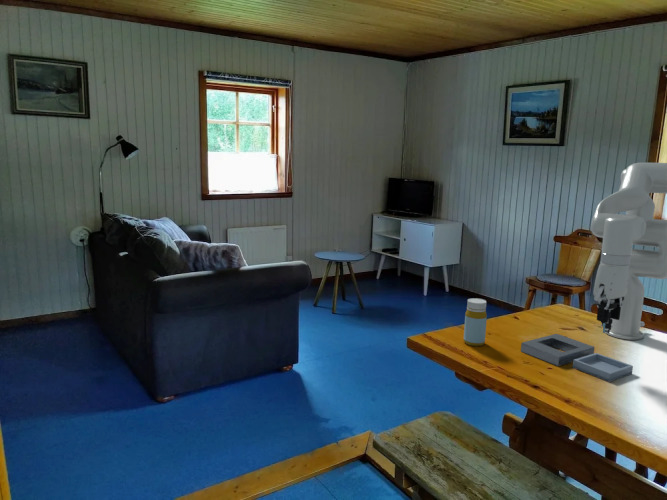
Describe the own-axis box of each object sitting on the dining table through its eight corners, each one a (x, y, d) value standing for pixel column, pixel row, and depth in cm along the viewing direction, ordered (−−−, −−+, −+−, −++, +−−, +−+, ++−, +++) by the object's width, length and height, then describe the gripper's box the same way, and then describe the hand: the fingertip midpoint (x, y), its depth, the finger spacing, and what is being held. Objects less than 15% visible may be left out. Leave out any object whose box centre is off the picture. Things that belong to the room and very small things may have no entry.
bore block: (555, 341, 180) (556, 333, 180) (593, 355, 168) (594, 346, 168) (520, 351, 171) (521, 342, 170) (558, 366, 159) (559, 357, 159)
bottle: (477, 348, 173) (480, 304, 170) (459, 342, 178) (462, 300, 175) (488, 343, 178) (491, 301, 175) (471, 337, 183) (474, 296, 180)
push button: (616, 336, 150) (617, 302, 148) (595, 334, 153) (596, 301, 151) (616, 329, 156) (617, 296, 154) (596, 327, 158) (597, 295, 157)
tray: (595, 360, 164) (596, 352, 164) (632, 373, 155) (633, 365, 154) (572, 367, 159) (573, 359, 158) (609, 381, 149) (610, 373, 148)
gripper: (619, 255, 158) (612, 312, 161) (585, 260, 149) (578, 320, 152) (644, 259, 152) (636, 319, 155) (610, 265, 143) (602, 328, 146)
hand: (608, 319), depth 154 cm, fingers closed on push button, 5 cm apart
